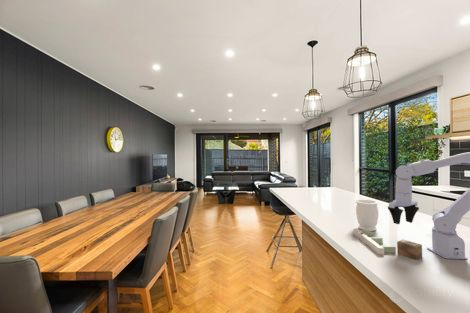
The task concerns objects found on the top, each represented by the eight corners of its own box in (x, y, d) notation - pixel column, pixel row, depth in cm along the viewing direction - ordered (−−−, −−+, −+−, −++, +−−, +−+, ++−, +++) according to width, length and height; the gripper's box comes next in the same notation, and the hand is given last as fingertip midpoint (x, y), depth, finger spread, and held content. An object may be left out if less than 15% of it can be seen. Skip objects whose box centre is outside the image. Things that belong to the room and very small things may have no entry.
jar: (367, 233, 112) (366, 204, 112) (352, 227, 122) (351, 200, 122) (383, 230, 115) (382, 202, 115) (367, 225, 125) (366, 199, 125)
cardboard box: (422, 257, 85) (421, 244, 85) (416, 260, 83) (416, 246, 83) (403, 251, 91) (402, 238, 91) (397, 253, 89) (397, 241, 89)
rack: (398, 255, 87) (398, 247, 87) (379, 254, 88) (378, 247, 88) (368, 233, 111) (368, 228, 111) (353, 233, 112) (353, 227, 112)
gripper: (406, 190, 102) (405, 218, 102) (382, 191, 98) (382, 221, 98) (422, 192, 95) (422, 223, 96) (398, 194, 91) (397, 226, 91)
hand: (402, 222), depth 96 cm, fingers open, 7 cm apart
